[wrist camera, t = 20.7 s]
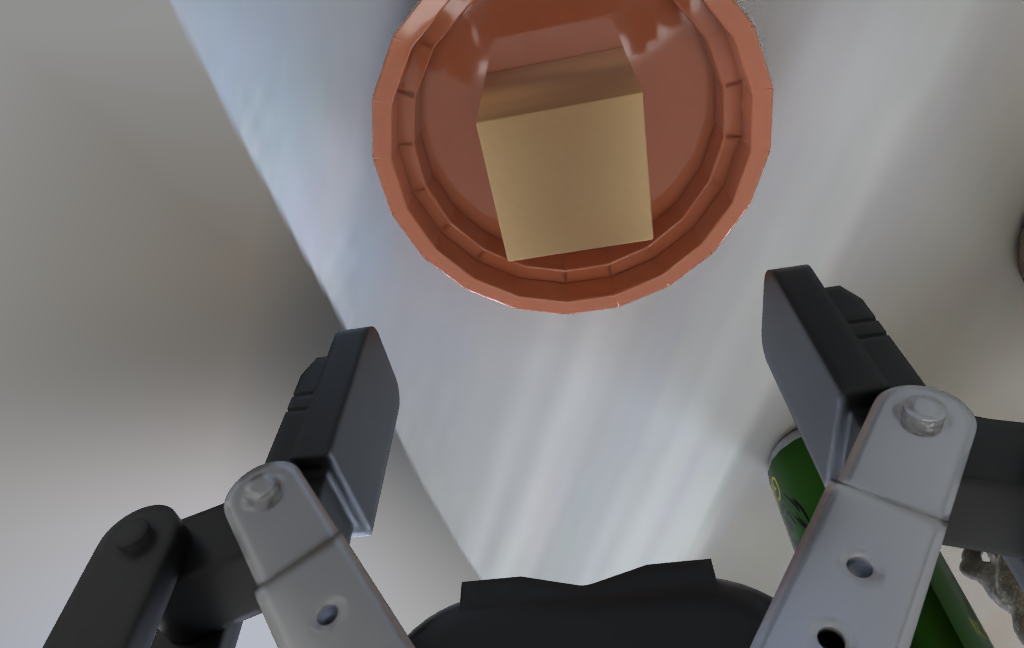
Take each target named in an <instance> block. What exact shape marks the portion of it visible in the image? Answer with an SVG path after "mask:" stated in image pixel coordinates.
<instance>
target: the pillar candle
mask: <svg viewBox="0 0 1024 648" xmlns="http://www.w3.org/2000/svg"><path fill="white" fill-rule="evenodd" d="M1019 268H1020V273H1021V275H1022V277H1023V280H1024V227H1023V228H1022V232H1021V236H1020V251H1019Z"/></svg>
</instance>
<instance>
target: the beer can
mask: <svg viewBox="0 0 1024 648" xmlns="http://www.w3.org/2000/svg"><path fill="white" fill-rule="evenodd" d="M768 476H769V482H770V485H771V488H772V490H773V493H774V496H775V499H776V502H777V504H778V507H779V510H780V513H781V515H782V518H783V521H784V524H785V526H786V529H787V532H788V535H789V537H790V540H791V543H792V546H793V548H794V551H796V549H797V547H798V545H799V543H800V541H801V539H802V537H803V534H804V532H805V530H806V528H807V526H808V524H809V522H810V520H811V518H812V516H813V513H814V511H815V509H816V507H817V505H818V503H819V501H820V499H821V497H822V494H823V492H824V490H825V486H824V484H823V482H822V480H821V477H820V475H819V473H818V471H817V469H816V467H815V464H814V462H813V460H812V458H811V456H810V454H809V452H808V449H807V447H806V445H805V443H804V441H803V439H802V436H801V434H800V432H799V430H795V431H793V432H792V433H790V434H789V435H787V436H786V437H785V438H783V439H782V440H781V441H780V442H779V443H778V445H777V446H776V447H775V448H774V450H773V452H772V455H771V458H770V463H769V469H768ZM910 648H994V646H993V644H992V642H991V641H990V639H989V637H988V635H987V634H986V632H985V630H984V628H983V627H982V625H981V623H980V621H979V619H978V618H977V616H976V614H975V612H974V611H973V609H972V607H971V605H970V603H969V602H968V600H967V598H966V596H965V595H964V593H963V591H962V589H961V588H960V586H959V584H958V582H957V580H956V579H955V577H954V575H953V573H952V572H951V570H950V568H949V566H948V564H947V563H946V561H945V559H944V557H943V556H942V554H941V552H939V555H938V558H937V561H936V565H935V568H934V571H933V574H932V577H931V581H930V584H929V587H928V590H927V593H926V597H925V600H924V603H923V606H922V610H921V613H920V616H919V619H918V622H917V626H916V629H915V632H914V635H913V639H912V642H911V645H910Z"/></svg>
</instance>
